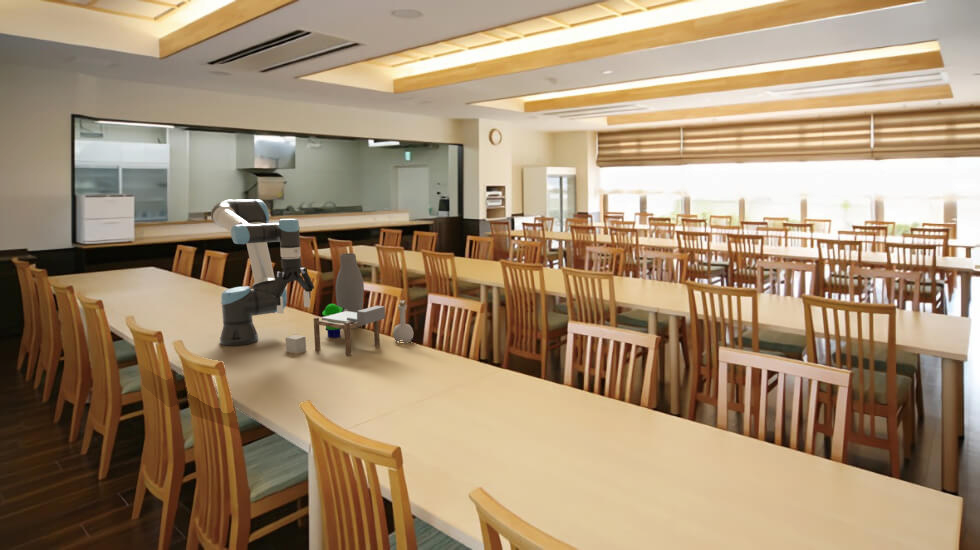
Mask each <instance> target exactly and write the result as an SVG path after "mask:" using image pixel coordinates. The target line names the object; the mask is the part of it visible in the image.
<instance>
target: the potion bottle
mask: <svg viewBox="0 0 980 550" xmlns="http://www.w3.org/2000/svg"><path fill="white" fill-rule="evenodd" d="M397 307H398V310H399V318H400V319H399V321H400V322H399V324H397V325H395V326H394V328H393V330H392V331H393V332H392V335H393V339H394V341H395V343H396V342H397V341H399V343H398V344H400V342H404V343H403V344H408V343H407V342H410V343H411V342H412V340H413V338H414V334H415V333H414V330H413V327H412V326H411V324H407V323H406V310H407V304H406V300H404V299H401V300H399V304H397ZM400 340H403V341H400Z"/></svg>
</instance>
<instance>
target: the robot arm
mask: <svg viewBox="0 0 980 550" xmlns="http://www.w3.org/2000/svg"><path fill="white" fill-rule="evenodd" d="M210 218H211V221H212V222H213V223H214V224H215V225H216V226H218V227H219V228H221V229H223V228H224V229H225V230H226V231H228V232H229V233H230V234H231V235H230V236H231V240H232V242H233V243H234V244H236V245H245V244H246V248H247V252H248V257H249V261H250V267H251V271H252V276H253V281H254V282H253V284H252V285H251V287H250V286H248V285H244V286H243V285H242V286H235V287H231V288H228V289H226V290H224V291H223V292H222V293H221V296H220V297H221V300H220V301H221V302H220V304H221V312H222V320H223V321H222V323H223V325H222V330H221V334H220V337H219V343H220V345H221V346H228V347H229V346H230V347H233V346H234V347H235V346H236V347H237V346H245V345H251V344H254V343H256V342H257V341H259V335H258V332H257V329H256V327H255V325H254V321H253V316H260V315H269V314H275V313H277V314H284V309H286V306H287V301H288V293H287V289H286V288H287V286H288V284H289V283H290V282H294V281H296V282H297V283H298V284H299V285H300V286H301V287H302V288H303V293H302V294H303V307H305V308H310V307H311V301H310V299H311V292H313V290H314V288H315V286H314V283H313V282H312V279H311V277H310V276H309V274H308V269H307V267H302V259H301V255H302V254H301V238H300V226H299V225H300V223H299V220H298V219H297V218H281V219H279V220H278V221H277V222H271V223H269V222H270V212H269V209H268V206H267V205H266V203H265V202H264V201H263V200H262V199H253V198H250V199H226V200H222V201H220V202H218V203H216V204H215V205H214V206H213V208H211V212H210ZM273 242H274V243H277V242H279V245H280V246H279V247H280V257H281V259H280V263H281V265H280V266H281V268H282V270H281V271H275V273H274V268H273V264H272V259H271V254H270V251H269V247H268V243H273ZM251 288H252V289H251Z"/></svg>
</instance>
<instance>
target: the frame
mask: <svg viewBox="0 0 980 550" xmlns="http://www.w3.org/2000/svg"><path fill="white" fill-rule="evenodd" d="M344 311H348V310H343V312H344ZM361 325H363V326H364V324H357V322H354V323H351V324H350V322H346V323H344V324H341V323H334V322H328V321H325V320H322V319H320V317H316V316H315V317H313V332H314V335H313V336H314V337H313V338H314V350H315V351H321V349H322V348H321V335H320V334H321V333H320V332H321V331H320V330H321V329H320V326H322V327H323V326H324V327H326V326H329V327H335V328H341V330H344V331H343V332H344V343H345V344H344V345H345V357H352V339H351V329H355V328H354V327H357V326H361ZM373 335H374V336H373V338H374V340H373V343H374V346H375V345H376V346H375V347H379V346H380V344H381V341H380V340H381V339H380V320H379V321H375V322H373ZM378 345H379V346H378Z"/></svg>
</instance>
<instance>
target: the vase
mask: <svg viewBox="0 0 980 550" xmlns="http://www.w3.org/2000/svg"><path fill="white" fill-rule="evenodd" d="M339 260H340V261H339V262H340V267H339V268H340V269H339V271H338V273H337V277H336V282H335V299H336V300H335V301H336V305H337V306H338V307H341V308H344V310H348V311H350V312H357V311H359V310H363V309H364V308H363V307H364V294H365V293H364V292H365V290H364V289H365V287H364V284H365V283H364V278H363V275H362V272H361V271H360V268H359V266H358V261H357V255H356V253H351V252H350V253H349V252H348V253H342V254H340V255H339ZM356 322H357V321H356ZM352 323H354V322H352ZM343 324H344V323H343ZM350 324H351V323H350ZM363 326H364V325H361V326H357V328H362V327H363ZM357 328H356V329H357Z"/></svg>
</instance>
